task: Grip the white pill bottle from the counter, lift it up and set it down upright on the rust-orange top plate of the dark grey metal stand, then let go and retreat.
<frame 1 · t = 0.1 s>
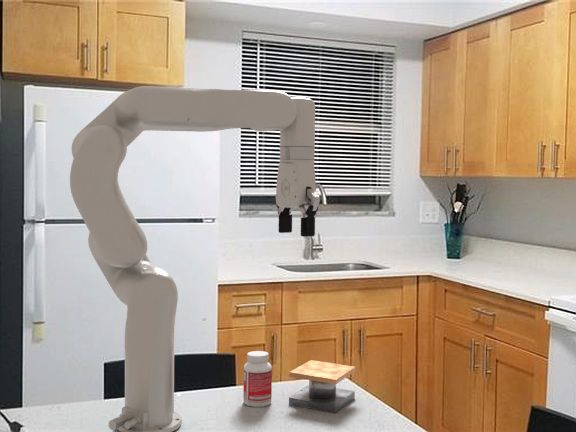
hand: (296, 234, 145), 37 cm above the kitchen island, tool pointing down, fingers open, 9 cm apart
stand: (322, 401, 147), on the kitchen island
pill bottle: (257, 403, 145), on the kitchen island
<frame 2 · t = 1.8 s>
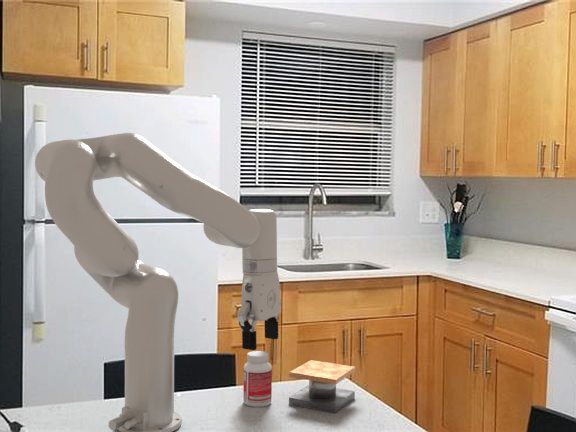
hand: (260, 343, 145), 13 cm above the kitchen island, tool pointing down, fingers open, 9 cm apart
nothing on the kitchen island moved.
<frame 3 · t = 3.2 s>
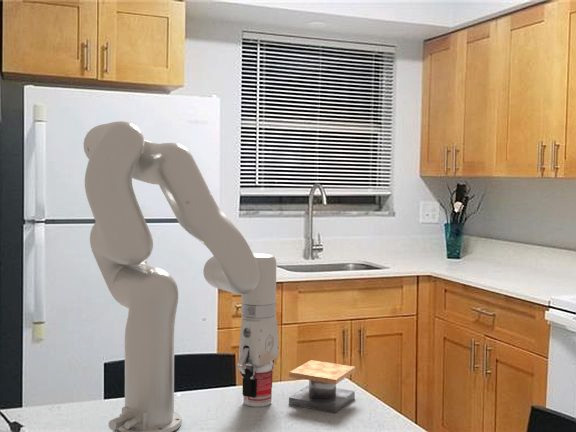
hand: (257, 391, 145), 3 cm above the kitchen island, tool pointing down, fingers closed on pill bottle, 6 cm apart
pill bottle: (257, 403, 145), on the kitchen island, touching gripper
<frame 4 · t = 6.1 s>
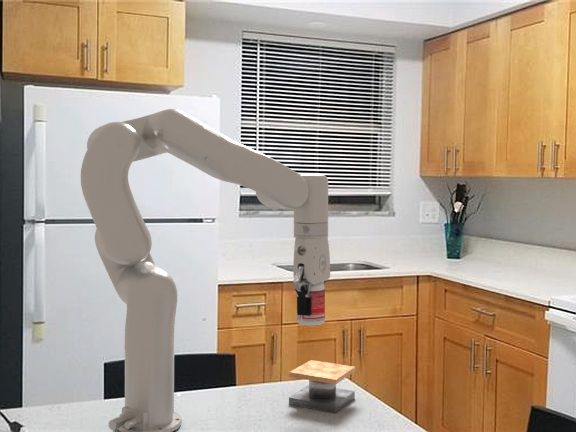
hand: (310, 311, 146), 20 cm above the kitchen island, tool pointing down, fingers closed on pill bottle, 6 cm apart
pill bottle: (310, 323, 146), point 17 cm above the kitchen island, touching gripper
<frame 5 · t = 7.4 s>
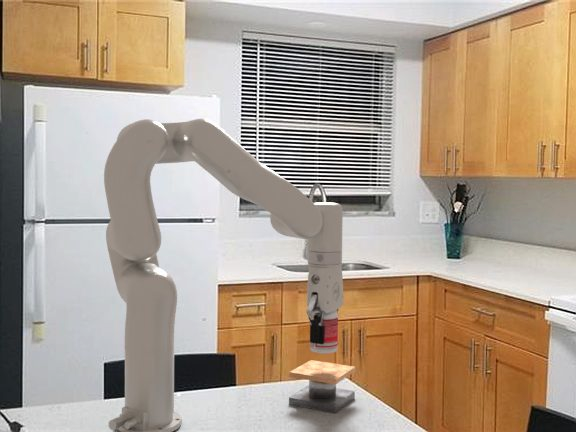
hand: (323, 339, 146), 14 cm above the kitchen island, tool pointing down, fingers closed on pill bottle, 6 cm apart
pill bottle: (323, 351, 146), point 11 cm above the kitchen island, touching gripper
when the fingers open (11 cm above the kitchen island, at t = 8.8 s): pill bottle drops 1 cm, resting on stand.
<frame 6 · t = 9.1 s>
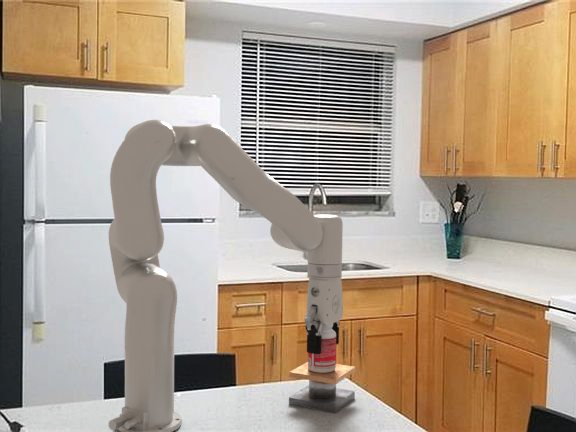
hand: (323, 348, 146), 12 cm above the kitchen island, tool pointing down, fingers open, 9 cm apart
pill bottle: (321, 370, 146), point 7 cm above the kitchen island, touching stand
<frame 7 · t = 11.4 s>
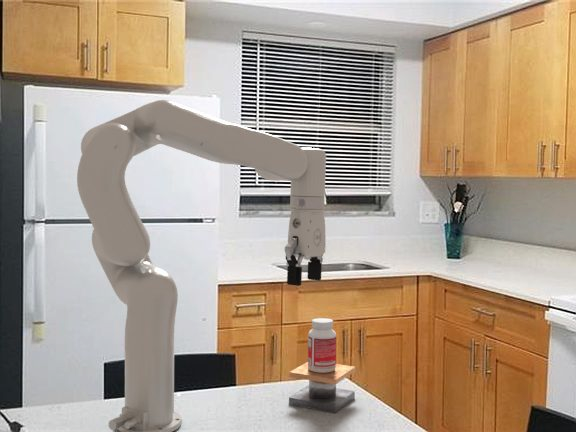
hand: (304, 282, 146), 26 cm above the kitchen island, tool pointing down, fingers open, 9 cm apart
nothing on the kitchen island moved.
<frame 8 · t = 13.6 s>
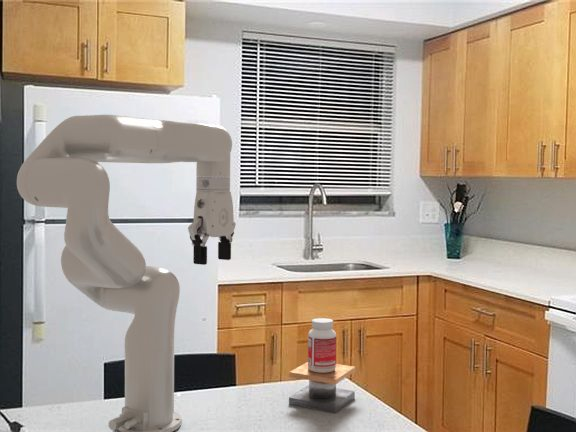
hand: (212, 261, 149), 30 cm above the kitchen island, tool pointing down, fingers open, 9 cm apart
nothing on the kitchen island moved.
at the end: pill bottle inside the target area on the stand (0.3 cm from its centre), point 7.0 cm above the stand's base; pill bottle tilted 0°; the gripper is holding nothing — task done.
